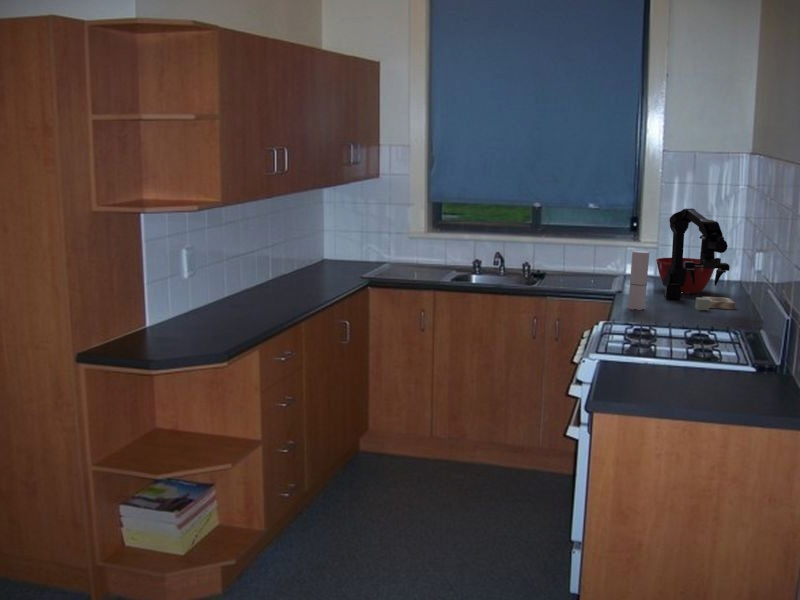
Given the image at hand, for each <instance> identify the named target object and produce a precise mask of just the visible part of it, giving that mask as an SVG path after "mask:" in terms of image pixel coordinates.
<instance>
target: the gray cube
mask: <svg viewBox="0 0 800 600" xmlns="http://www.w3.org/2000/svg"><path fill="white" fill-rule="evenodd" d="M694 304H695V305H694V309H695V308H696V309H697V310H696V309H695V310H696V311H700V310H708V311H707V312H709V311H710V308H709V304H710V300H709V299H708V298H702V297H695V303H694Z"/></svg>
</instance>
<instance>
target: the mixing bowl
mask: <svg viewBox="0 0 800 600" xmlns="http://www.w3.org/2000/svg"><path fill="white" fill-rule="evenodd" d="M684 261H693V262H694V263H699V262H700V258H691V257H683V263H684ZM655 262H656V265H657V269H658V274H659V277H660V279H661V282H662V281H663V279H664V278H665V276H666V275H667V271H668V269H669V267H670V266H671V263H672V257H660V258H656V260H655ZM702 266H703V265H702ZM694 270H695V283H694V285H693V283H692V279H691V276H690V273H689V271H688V270H687V272H686V276H687V277H686V281H685V284H684V286H680V287H681V288H680V289H681V290H682V291H681V292H683V293H696V294H698V293H699V292H702V291H703V290H704V289H705V288H706V287H707V285H708V283H709V281H710V280H711V278H712V276H713V274H714V270H715V269H704V268H697V267H695V268H694ZM670 284H675V283H670ZM664 287H665V288H666V286H664ZM697 292H698V293H697Z"/></svg>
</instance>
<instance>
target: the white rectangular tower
mask: <svg viewBox="0 0 800 600" xmlns="http://www.w3.org/2000/svg"><path fill="white" fill-rule="evenodd" d="M649 261H650V251H646V250H632V252H631V262H630V263H631V264H630V265H631V266H630V277H629V279H630V280H629V291H628V292H629V293H628V300H627V301H628V302H627V308H628V309H630V310H634V309H637V310H636V311H641V310H642V309H644V310H645V309H646V297H647V285H648V273H649V271H648V270H649ZM642 311H643V310H642Z"/></svg>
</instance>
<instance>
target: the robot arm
mask: <svg viewBox="0 0 800 600" xmlns="http://www.w3.org/2000/svg"><path fill="white" fill-rule="evenodd" d="M691 222H692V223H693V225H696V226H697V227H698V231H699V232H700V233H701V234H702V235H700V236H699V239H701V244H700V251H699V253H700V255H699V256H700V257H699V259H700V262H699V263H694V262H693V261H684V263H683V258H684V245H685V244H684V243H685V233H686V232H687V230H688V229H689V225H690V223H691ZM669 227H670V228H669V229H670V230H671V232H672V246H671V247H672V248H671V249H672V251H671V258H672V263H671V266H670V267H669V269H668V271H667V275H666V276H665V278H664V279H663V281H662V280H661V282H662V285H663V286H664V287H665V286H666V287H665V290H664V291H665V292H664V296H663V298H664V297H665V298H666V299H665V298H664V299H665V300H671V299H680V300H681V299H682V294H681V291H682V290H681V289H680V288H681V287H680V286H684V284H685V281H686V277H687V276H686V272H687V270H688V271H689V273H690V276H691V279H692V283H693V285H694V283H695V270H694V268H695V267H697V268H704V269H714V270H715V278H714V286H715V287H716V286H717V284H718V282H719V280H720V278H721V277H722V275H723V274H724V273H725V274H726V272H727V271H730V268H731V267H730V266H731V265H730V264H729V263H727V262H721V261H722V259H721V257H715V253H718V254H722V253H723V254H724V253H725V252H727V250H728V247H729V246H728V245H729V244H728V243H727V241H726V240H725V237H724V236H723V232H722V229H721V226H720V223H719V222H718V221H715V220H714V219H708V218H706V217H705V216H703V214H700V213H699V212H698V211H697V210H696V209H695V208H693V207H692V208H691V207H690V208H683V209H682V210H680V211H677V212H674V213H673V214H671V216H670V217H669ZM702 265H703V266H702ZM670 283H675V284H670Z"/></svg>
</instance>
